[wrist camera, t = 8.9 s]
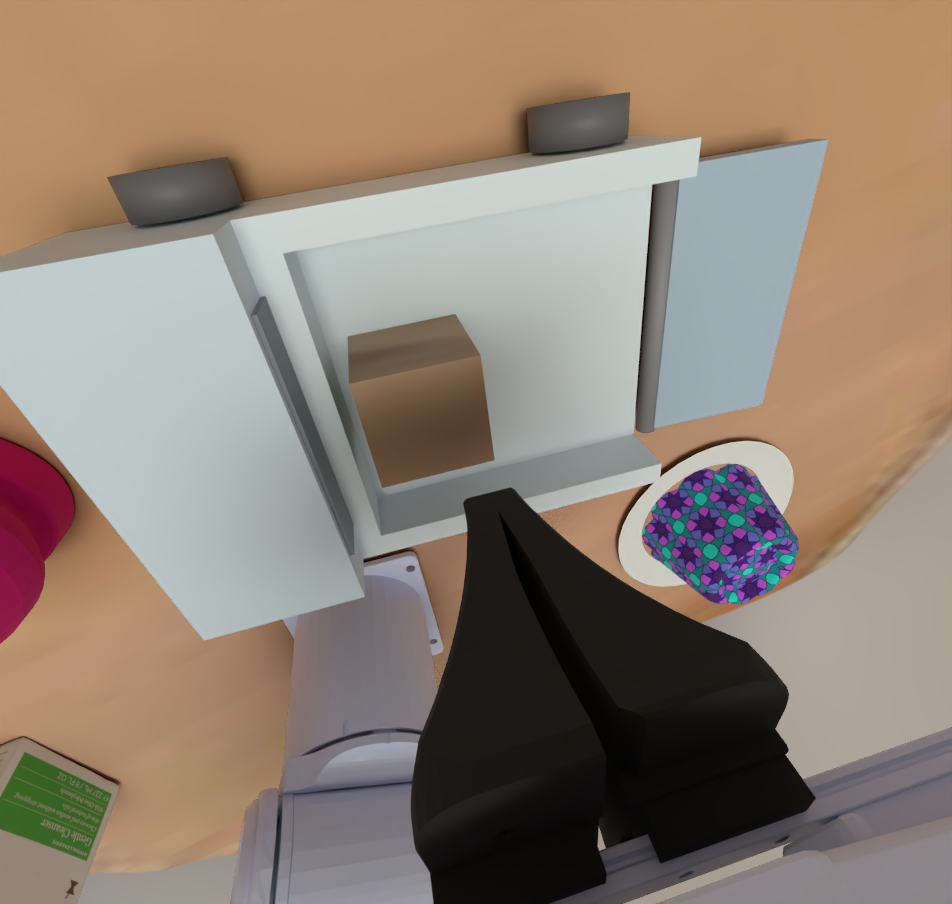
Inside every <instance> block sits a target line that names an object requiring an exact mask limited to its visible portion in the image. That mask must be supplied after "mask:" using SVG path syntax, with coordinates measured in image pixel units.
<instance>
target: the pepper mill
mask: <svg viewBox="0 0 952 904" xmlns="http://www.w3.org/2000/svg"><path fill="white" fill-rule="evenodd" d="M74 512H75V507H74V502H73V496H72V493H71V491H70V490H69V488H68V486H67V485H66V483H65V481H64V479H63V478H62V477H61V476H60V475H59V474H58V473H57V472H56V471H55V470H54V469H53V468H52V467H51V466H50V465H49V464H48V463H46V462H45V461H43V460H42V459H40V458H39V457H37V456H36V455H34V454H32V453H31V452H29V451H28V450H26V449H24V448H22V447H19V446H17V445H14V444H12V443H9V442H7V441H4V440H2V439H0V644H1V643H2V642H3V641H4V640H5V639H6V638H8V637H9V636H10V635H11V634H12V633H13V632H14V631H15V630H16V628H17V627H18V626H19V624H20V623H21V622H22V621H23V619H24V618H25V617H26V616H27V614H28V613H29V612H30V611H31V609H32V608H33V607H34V605H35V604H36V602H37V601H38V599H39V596H40V594H41V592H42V589H43V585H44V578H45V564H44V561H45V560H46V559H47V558H48V557H49V556H50V555H51V553H52V552H53V550H54V549H55V548H56V546H57V545H58V543H59V542H60V540H61V539H62V537H63V536H64V534H65V533H66V532H67V530H68V529H69V527H70V525H71V523H72V521H73V518H74Z"/></svg>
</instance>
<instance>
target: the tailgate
mask: <svg viewBox="0 0 952 904" xmlns="http://www.w3.org/2000/svg"><path fill="white" fill-rule="evenodd" d="M828 141H829V139H806V140H800V141H794V142H789V143H783V144H777V145H771V146H766V147H760V148H754V149H749V150H743V151H737V152H731V153H726V154H720V155H714V156H709V157H703V158H699V162H698V170H697V176H695V177H690V178H685V179H679V180H674V181H668V182H663V183H658V184H654V196H653V209H652V222H651V235H650V248H649V261H648V274H647V287H646V300H645V313H644V325H643V338H642V351H641V364H640V377H639V390H638V403H637V416H636V430H637V431H639V432H641V433H650V432H653V431H654V430H655V428H658V427H663V426H667V425H672V424H676V423H681V422H685V421H690V420H695V419H699V418H704V417H708V416H713V415H717V414H722V413H727V412H731V411H736V410H740V409H745V408H749V407H754V406H758V405H762V402H763V398H764V394H765V390H766V386H767V382H768V378H769V374H770V370H771V366H772V362H773V359H774V355H775V351H776V347H777V343H778V339H779V335H780V331H781V327H782V323H783V319H784V315H785V311H786V307H787V303H788V299H789V295H790V291H791V287H792V283H793V279H794V275H795V271H796V268H797V264H798V260H799V256H800V252H801V248H802V244H803V240H804V236H805V232H806V228H807V224H808V220H809V216H810V212H811V208H812V204H813V200H814V196H815V192H816V188H817V184H818V180H819V177H820V173H821V169H822V165H823V161H824V157H825V153H826V149H827V145H828Z"/></svg>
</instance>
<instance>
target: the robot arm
mask: <svg viewBox="0 0 952 904" xmlns="http://www.w3.org/2000/svg"><path fill="white" fill-rule="evenodd" d="M463 506H464V511H465V516H466V521H467V562H466V571H465V580H464V588H463V595H462V601H461V607H460V612H459V617H458V622H457V626H456V630H455V634H454V638H453V642H452V646H451V650H450V654H449V657H448V661H447V664H446V667H445V670H444V673H443V676H442V679H441V682H440V685H439V688H437V682H436V676H435V670H434V665H433V659H432V656H433V655H437V654H439V653H441V652H442V651H443V649H444V647H443V643H442V639H441V636H440V632H439V629H438V626H437V622H436V619H435V616H434V612H433V609H432V605H431V602H430V599H429V595H428V592H427V589H426V585H425V582H424V578H423V575H422V572H421V568H420V565H419V562H418V558H417V555H416V554H415V553H414V552H410V551H409V552H404V553H400V554H396V555H392V556H389V557H385V558H381V559H377V560H373V561H370V562H366V563H363V564H364V584H365V597H363V598H359V599H355V600H352V601H348V602H344V603H341V604H337V605H333V606H330V607H326V608H322V609H319V610H315V611H311V612H308V613H304V614H300V615H296V616H293V617H289V618H285V619H282V620H283V622H284V623H285V625H286V627H287V628H288V630H289V632H290V633H291V635H292V637H293V638H294V651H293V662H292V673H291V683H290V694H289V705H288V715H287V726H286V737H285V747H284V758H283V769H282V776H281V780H280V784H279V789H278V790H277V788H269V789H264V790H262V791H261V792H260V794H259V797H258V799H255V800H254V801H253V802H252V804H251V805H250V806H249V807H248V808H247V809H246V810H245V814H244V819H243V825H242V831H241V837H240V843H239V849H238V855H237V862H236V869H235V875H234V881H233V888H232V895H231V902H230V904H623V903H626V902H629V901H632V900H634V899H637V898H640V897H643V896H645V895H648V894H651V893H654V892H656V891H659V890H662V889H664V888H667V887H670V886H673V885H675V884H678V883H681V882H683V881H686V880H689V879H692V878H694V877H697V876H700V875H703V874H705V873H708V872H711V871H714V870H716V869H719V868H722V867H724V866H727V865H730V864H732V863H735V862H738V861H741V860H744V859H746V858H749V857H752V856H754V855H757V854H760V853H762V852H765V851H768V850H771V849H774V848H776V847H779V846H782V845H784V844H787V843H790V842H792V843H790V844H788V845H786V846H785V847H784V848H783V857H781V858H778V859H776V860H773V861H771V862H768V863H765V864H762V865H759V866H757V867H754V868H751V869H749V870H746V871H743V872H741V873H738V874H735V875H733V876H730V877H727V878H724V879H722V880H719V881H717V882H714V883H711V884H708V885H705V886H703V887H700V888H697V889H695V890H692V891H689V892H686V893H684V894H681V895H678V896H676V897H673V898H670V899H668V900H665V901H662V902H660V903H657V904H952V727H951V728H948V729H945V730H942V731H939V732H937V733H934V734H931V735H928V736H925V737H922V738H919V739H917V740H914V741H911V742H908V743H905V744H902V745H899V746H897V747H894V748H891V749H888V750H885V751H882V752H880V753H877V754H874V755H871V756H868V757H865V758H863V759H860V760H857V761H854V762H851V763H848V764H845V765H843V766H840V767H837V768H834V769H831V770H828V771H826V772H823V773H820V774H817V775H814V776H811V777H808V778H806V779H802V778H801V776H800V775H799V774H798V772H797V771H796V769H795V768H794V767H793V765H792V764H791V762H790V761H789V759H788V758H787V756H786V755H785V754H787V752H788V747H787V745H786V744H785V742H784V741H783V739H782V738H781V737H780V735H779V734H778V732H777V731H776V730H775V728H776V726H777V724H778V722H779V720H780V718H781V716H782V714H783V712H784V710H785V708H786V705H787V702H788V696H789V693H788V690H787V687H786V685H785V684H784V683H783V682H782V680H781V679H780V678H779V677H778V675H777V674H776V673H775V672H774V670H773V669H772V668H771V667H770V666H769V665H768V664H767V662H766V661H765V660H764V659H763V658H762V657H761V656H760V655H759V654H758V653H757V652H756V651H755V650H754V649H753V648H752V647H751V646H750V645H749V644H748V643H747V642H745V641H743V640H740V639H738V638H735V637H733V636H730V635H728V634H726V633H723V632H721V631H718V630H716V629H713V628H711V627H709V626H706V625H704V624H701V623H699V622H697V621H695V620H693V619H691V618H689V617H686V616H684V615H682V614H680V613H678V612H676V611H674V610H672V609H670V608H669V607H667V606H665V605H663V604H661V603H659V602H657V601H656V600H654V599H652V598H650V597H648V596H646V595H645V594H643V593H641V592H639V591H637V590H636V589H634V588H633V587H631V586H629V585H628V584H626V583H624V582H623V581H621V580H620V579H618V578H617V577H615V576H614V575H612V574H611V573H609V572H608V571H606V570H605V569H603V568H602V567H600V566H599V565H598V564H596V563H595V562H593V561H592V560H591V559H589V558H588V557H587V556H585V555H584V554H583V553H582V552H580V551H579V550H578V549H576V548H575V547H574V546H573V545H571V544H570V543H569V542H568V541H567V540H565V539H564V538H563V537H562V536H561V535H560V534H559V533H558V532H556V531H555V530H554V529H553V528H552V527H551V526H550V525H549V524H547V523H546V522H545V521H544V520H543V519H542V518H541V517H540V516H539V515H538V514H537V513H536V512H535V511H534V510H533V509H532V508H531V507H530V506H529V505H528V504H527V503H526V502H525V501H524V500H523V498H522V497H521V496H520V495H519V494H518V493H517V492H516V490H515V489H513V488H511V487H510V488H506V489H502V490H498V491H494V492H490V493H486V494H482V495H478V496H474V497H470V498H466V500H465V501H464V502H463ZM410 565H413V566H411V567H407V566H410ZM598 826H599V828H600V831H601V834H602V837H603V841H604V844H605V847H606V849H603V850H601V851H599V850H598V847H597V844H598ZM793 841H794V842H793Z"/></svg>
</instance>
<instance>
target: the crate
mask: <svg viewBox="0 0 952 904" xmlns="http://www.w3.org/2000/svg"><path fill="white" fill-rule="evenodd" d="M348 371H349V386H350V389H351V393H352V396H353V399H354V402H355V405H356V408H357V411H358V414H359V418H360V421H361V424H362V427H363V430H364V433H365V436H366V439H367V443H368V446H369V449H370V452H371V455H372V458H373V461H374V464H375V468H376V471H377V474H378V477H379V480H380V483H381V486H382V488H385V487H389V486H393V485H397V484H401V483H405V482H409V481H413V480H417V479H421V478H425V477H429V476H433V475H437V474H441V473H445V472H449V471H453V470H458V469H462V468H466V467H470V466H474V465H478V464H482V463H486V462H490V461H494V460H495V459H494V451H493V444H492V436H491V429H490V422H489V414H488V407H487V399H486V392H485V384H484V377H483V369H482V362H481V355H480V353H479V352H478V350H477V348H476V347H475V345H474V344H473V342H472V340H471V339H470V337H469V335H468V334H467V332H466V331H465V329H464V327H463V326H462V324H461V322H460V321H459V319H458V318H457V316H456V314H452V315H448V316H443V317H438V318H433V319H429V320H424V321H419V322H414V323H409V324H405V325H400V326H395V327H390V328H386V329H381V330H376V331H371V332H366V333H362V334H357V335H352V336H348Z"/></svg>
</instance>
